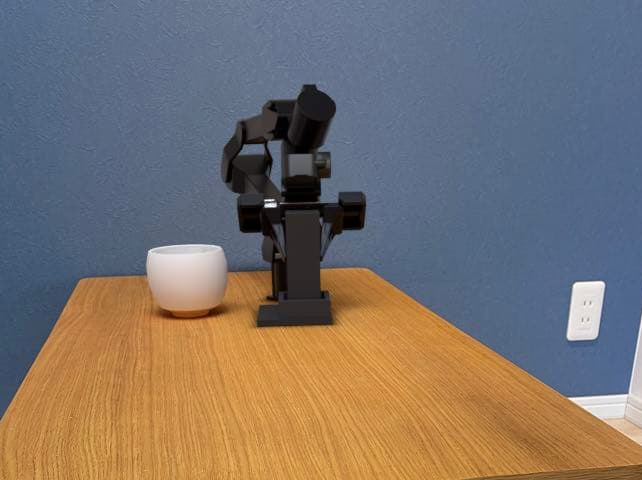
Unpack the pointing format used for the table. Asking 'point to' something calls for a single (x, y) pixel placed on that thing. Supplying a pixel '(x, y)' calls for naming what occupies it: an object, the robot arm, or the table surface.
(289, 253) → the post
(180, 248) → the cup
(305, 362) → the table surface
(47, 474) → the table surface
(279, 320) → the base pad
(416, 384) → the table surface
